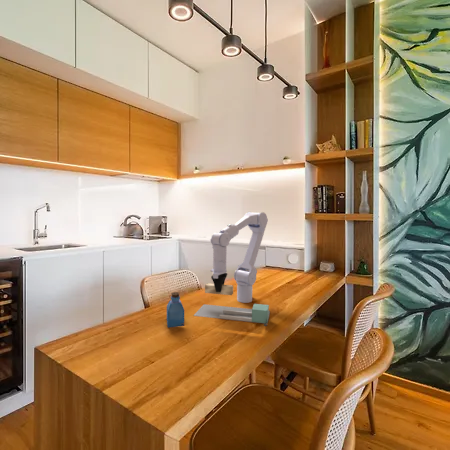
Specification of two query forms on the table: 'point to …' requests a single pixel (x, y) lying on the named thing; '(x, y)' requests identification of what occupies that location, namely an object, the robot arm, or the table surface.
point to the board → (236, 313)
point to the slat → (225, 289)
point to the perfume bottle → (175, 311)
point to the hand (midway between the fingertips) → (219, 290)
